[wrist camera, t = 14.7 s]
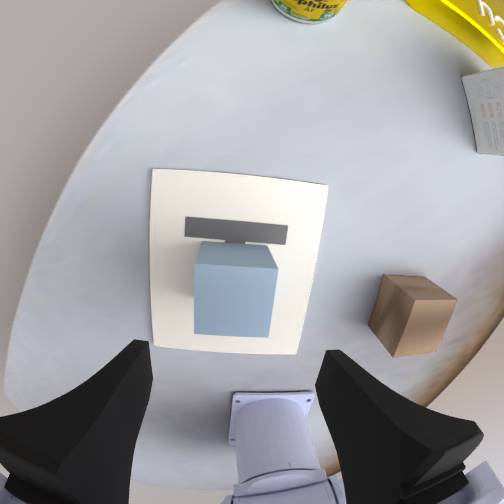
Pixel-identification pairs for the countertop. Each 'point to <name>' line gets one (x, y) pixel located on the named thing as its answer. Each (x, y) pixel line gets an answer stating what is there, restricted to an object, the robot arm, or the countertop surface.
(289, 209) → the letter card
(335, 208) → the countertop surface
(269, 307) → the dusty blue cube
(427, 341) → the walnut block
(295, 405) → the robot arm
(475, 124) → the small box
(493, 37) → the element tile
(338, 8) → the supplement bottle
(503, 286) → the countertop surface
